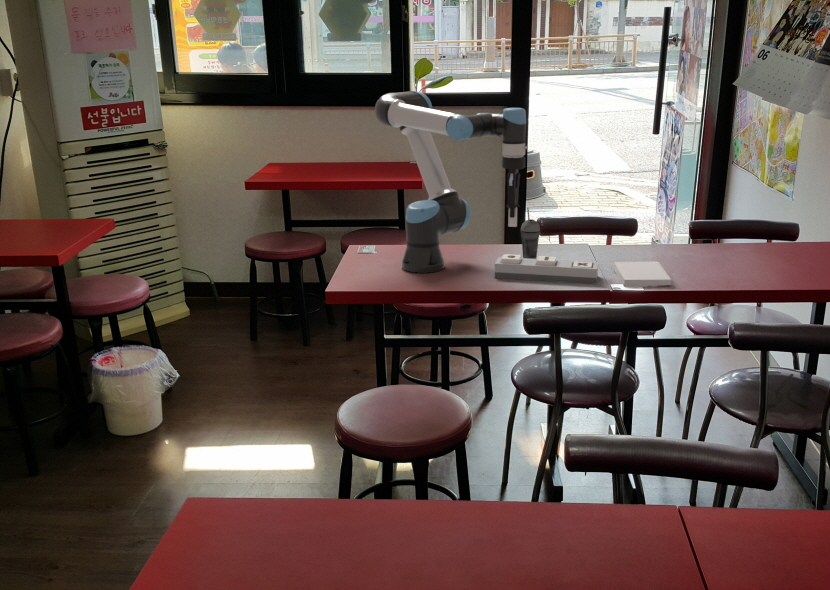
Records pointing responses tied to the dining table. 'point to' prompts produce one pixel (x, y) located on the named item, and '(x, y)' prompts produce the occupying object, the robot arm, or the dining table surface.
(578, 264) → the key cross
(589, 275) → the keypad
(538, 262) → the bar
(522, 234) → the beverage cup
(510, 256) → the block
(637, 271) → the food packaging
